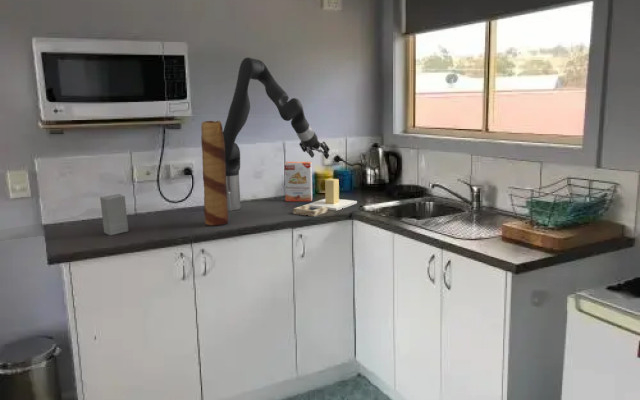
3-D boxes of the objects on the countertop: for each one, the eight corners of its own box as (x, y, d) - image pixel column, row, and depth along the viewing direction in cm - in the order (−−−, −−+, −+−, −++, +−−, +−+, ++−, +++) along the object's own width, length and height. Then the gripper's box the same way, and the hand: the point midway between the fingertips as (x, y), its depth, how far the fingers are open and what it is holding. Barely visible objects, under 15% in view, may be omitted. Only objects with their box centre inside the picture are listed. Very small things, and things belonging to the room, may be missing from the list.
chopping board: (336, 210, 250) (336, 208, 250) (306, 206, 260) (306, 204, 260) (356, 203, 266) (356, 201, 266) (327, 200, 276) (327, 197, 276)
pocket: (313, 216, 239) (313, 211, 238) (293, 213, 245) (292, 208, 245) (327, 211, 248) (327, 206, 248) (307, 209, 255) (306, 204, 254)
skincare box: (122, 229, 222) (119, 193, 219) (129, 232, 217) (126, 195, 214) (102, 233, 216) (98, 196, 213) (109, 236, 211) (105, 198, 208)
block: (333, 204, 259) (333, 180, 257) (325, 203, 262) (325, 180, 260) (339, 202, 263) (338, 179, 261) (330, 201, 266) (330, 178, 264)
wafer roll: (229, 220, 235) (223, 120, 226) (228, 225, 225) (223, 121, 216) (206, 221, 233) (199, 121, 225) (204, 227, 223) (197, 122, 214)
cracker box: (285, 201, 274) (283, 162, 270) (287, 199, 280) (285, 161, 275) (311, 202, 272) (310, 162, 268) (312, 199, 278) (311, 161, 274)
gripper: (322, 129, 235) (335, 151, 247) (297, 127, 243) (311, 149, 254) (315, 141, 232) (329, 164, 243) (290, 139, 240) (305, 161, 251)
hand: (320, 156), depth 249 cm, fingers open, 8 cm apart
